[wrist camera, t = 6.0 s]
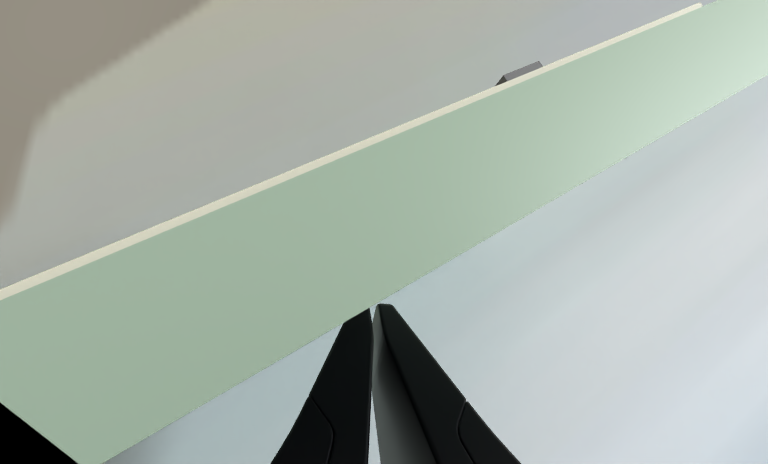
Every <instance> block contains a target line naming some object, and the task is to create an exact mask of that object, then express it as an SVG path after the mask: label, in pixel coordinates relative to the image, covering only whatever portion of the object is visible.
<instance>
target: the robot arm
mask: <svg viewBox="0 0 768 464" xmlns="http://www.w3.org/2000/svg"><path fill="white" fill-rule="evenodd" d="M371 391H372V396H373V404H374V412H375V420H376V428H377V436H378V445H379V453H380V461H381V464H521V463H520V462H519V461H518V460H517V459H516V457H515V456H514V455H513V454H512V453H511V452H510V451H509V450H508V449H507V448H506V446H505V445H504V444H503V443H502V442H501V441H500V440H499V439H498V438H497V436H496V435H495V434H494V433H493V432H492V431H491V429H490V428H489V427H488V426H487V425H486V423H485V422H484V421H483V420H482V418H481V417H480V416H479V415H478V414H477V412H476V411H475V410H474V408H473V407H472V406H471V405H470V403H469V402H466V398H465V397H464V396H463V395H462V393H461V392H460V391H459V389H458V388H457V387H456V386H455V384H454V383H453V382H452V381H451V379H450V378H449V377H448V375H447V374H446V373H445V372H444V370H443V369H442V368H441V366H440V365H439V364H438V363H437V361H436V360H435V359H434V358H433V356H432V355H431V354H430V352H429V351H428V350H427V349H426V347H425V346H424V345H423V343H422V342H421V341H420V340H419V338H418V337H417V336H416V335H415V333H414V332H413V331H412V329H411V328H410V327H409V326H408V324H407V323H406V322H405V320H404V319H403V318H402V317H401V315H400V314H399V313H398V312H397V310H396V309H395V308H394V306H392V305H390V304H378V305H377V306H376V310H375V314H374V318H373V323H372V321H371V314H370V308H368V309H366V310H364V311H363V312H361V313H359V314H357V315H356V316H354V317H352V318H351V319H349V320H347V321H345V322H344V323H343V325H342V327H341V329H340V331H339V334H338V336H337V338H336V340H335V342H334V344H333V346H332V348H331V350H330V352H329V354H328V356H327V358H326V361H325V363H324V365H323V367H322V369H321V371H320V373H319V375H318V377H317V379H316V381H315V383H314V386H313V388H312V390H311V392H310V394H309V397H308V398H307V400H306V402H305V404H304V406H303V408H302V410H301V412H300V414H299V416H298V418H297V420H296V421H295V423H294V425H293V427H292V429H291V431H290V433H289V434H288V436H287V438H286V439H285V441H284V443H283V444H282V446H281V448H280V449H279V451H278V453H277V454H276V456H275V457H274V459H273V460H272V462H271V464H368V454H369V433H370V412H371Z"/></svg>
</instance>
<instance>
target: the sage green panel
mask: <svg viewBox="0 0 768 464" xmlns="http://www.w3.org/2000/svg"><path fill="white" fill-rule="evenodd" d="M767 75H768V0H717V1H715V2H712V3H710V4H707V5H705V6H702V4H701V3H697V4H695V5H692V6H690V7H687V8H685V9H683V10H680V11H678V12H675V13H673V14H670V15H668V16H666V17H663V18H661V19H658V20H656V21H653V22H651V23H648V24H646V25H644V26H641V27H639V28H636V29H634V30H631V31H629V32H626V33H624V34H622V35H619V36H617V37H614V38H612V39H609V40H607V41H605V42H602V43H600V44H597V45H595V46H592V47H590V48H587V49H585V50H583V51H580V52H578V53H575V54H573V55H570V56H568V57H566V58H563V59H561V60H558V61H556V62H553V63H551V64H548V65H546V66H544V67H543V66H542V64H541V63H540V62H539V61H538V62H535V63H533V64H530V65H528V66H525V67H523V68H520V69H518V70H515V71H513V72H510V73H508V74H505V75H503V77H502V78H501V79H500V80H499V82H498V83H497V84H496V86H495V87H492V88H490V89H488V90H485V91H483V92H480V93H478V94H475V95H473V96H470V97H468V98H466V99H463V100H461V101H458V102H456V103H453V104H451V105H449V106H446V107H444V108H441V109H439V110H436V111H434V112H431V113H429V114H427V115H424V116H422V117H419V118H417V119H414V120H412V121H410V122H407V123H405V124H402V125H400V126H397V127H395V128H392V129H390V130H388V131H385V132H383V133H380V134H378V135H375V136H373V137H371V138H368V139H366V140H363V141H361V142H358V143H356V144H353V145H351V146H349V147H346V148H344V149H341V150H339V151H336V152H334V153H332V154H329V155H327V156H324V157H322V158H319V159H317V160H314V161H312V162H310V163H307V164H305V165H302V166H300V167H297V168H295V169H292V170H290V171H288V172H285V173H283V174H280V175H278V176H275V177H273V178H271V179H268V180H266V181H263V182H261V183H258V184H256V185H253V186H251V187H249V188H246V189H244V190H241V191H239V192H236V193H234V194H232V195H229V196H227V197H224V198H222V199H219V200H217V201H214V202H212V203H210V204H207V205H205V206H202V207H200V208H197V209H195V210H193V211H190V212H188V213H185V214H183V215H180V216H178V217H175V218H173V219H171V220H168V221H166V222H163V223H161V224H158V225H156V226H154V227H151V228H149V229H146V230H144V231H141V232H139V233H136V234H134V235H132V236H129V237H127V238H124V239H122V240H119V241H117V242H115V243H112V244H110V245H107V246H105V247H102V248H100V249H97V250H95V251H93V252H90V253H88V254H85V255H83V256H80V257H78V258H76V259H73V260H71V261H68V262H66V263H63V264H61V265H58V266H56V267H54V268H51V269H49V270H46V271H44V272H41V273H39V274H37V275H34V276H32V277H29V278H27V279H24V280H22V281H19V282H17V283H15V284H12V285H10V286H7V287H5V288H2V289H0V464H102V463H104V462H106V461H107V460H109V459H111V458H113V457H114V456H116V455H118V454H119V453H121V452H123V451H125V450H126V449H128V448H130V447H131V446H133V445H135V444H137V443H138V442H140V441H142V440H143V439H145V438H147V437H149V436H150V435H152V434H154V433H155V432H157V431H159V430H161V429H162V428H164V427H166V426H167V425H169V424H171V423H173V422H174V421H176V420H178V419H179V418H181V417H183V416H185V415H186V414H188V413H190V412H191V411H193V410H195V409H197V408H198V407H200V406H202V405H203V404H205V403H207V402H208V401H210V400H212V399H214V398H215V397H217V396H219V395H220V394H222V393H224V392H226V391H227V390H229V389H231V388H232V387H234V386H236V385H238V384H239V383H241V382H243V381H244V380H246V379H248V378H250V377H251V376H253V375H255V374H256V373H258V372H260V371H262V370H263V369H265V368H267V367H268V366H270V365H272V364H274V363H275V362H277V361H279V360H280V359H282V358H284V357H286V356H287V355H289V354H291V353H292V352H294V351H296V350H298V349H299V348H301V347H303V346H304V345H306V344H308V343H310V342H311V341H313V340H315V339H316V338H318V337H320V336H321V335H323V334H325V333H327V332H328V331H330V330H332V329H333V328H335V327H337V326H339V325H340V324H342V323H344V322H345V321H347V320H349V319H351V318H352V317H354V316H356V315H357V314H359V313H361V312H363V311H364V310H366V309H368V308H369V307H371V306H373V305H375V304H376V303H378V302H380V301H381V300H383V299H385V298H387V297H388V296H390V295H392V294H393V293H395V292H397V291H399V290H400V289H402V288H404V287H405V286H407V285H409V284H411V283H412V282H414V281H416V280H417V279H419V278H421V277H423V276H424V275H426V274H428V273H429V272H431V271H433V270H435V269H436V268H438V267H440V266H441V265H443V264H445V263H446V262H448V261H450V260H452V259H453V258H455V257H457V256H458V255H460V254H462V253H464V252H465V251H467V250H469V249H470V248H472V247H474V246H476V245H477V244H479V243H481V242H482V241H484V240H486V239H488V238H489V237H491V236H493V235H494V234H496V233H498V232H500V231H501V230H503V229H505V228H506V227H508V226H510V225H512V224H513V223H515V222H517V221H518V220H520V219H522V218H524V217H525V216H527V215H529V214H530V213H532V212H534V211H536V210H537V209H539V208H541V207H542V206H544V205H546V204H548V203H549V202H551V201H553V200H554V199H556V198H558V197H559V196H561V195H563V194H565V193H566V192H568V191H570V190H571V189H573V188H575V187H577V186H578V185H580V184H582V183H583V182H585V181H587V180H589V179H590V178H592V177H594V176H595V175H597V174H599V173H601V172H602V171H604V170H606V169H607V168H609V167H611V166H613V165H614V164H616V163H618V162H619V161H621V160H623V159H625V158H626V157H628V156H630V155H631V154H633V153H635V152H637V151H638V150H640V149H642V148H643V147H645V146H647V145H649V144H650V143H652V142H654V141H655V140H657V139H659V138H661V137H662V136H664V135H666V134H667V133H669V132H671V131H673V130H674V129H676V128H678V127H679V126H681V125H683V124H684V123H686V122H688V121H690V120H691V119H693V118H695V117H696V116H698V115H700V114H702V113H703V112H705V111H707V110H708V109H710V108H712V107H714V106H715V105H717V104H719V103H720V102H722V101H724V100H726V99H727V98H729V97H731V96H732V95H734V94H736V93H738V92H739V91H741V90H743V89H744V88H746V87H748V86H750V85H751V84H753V83H755V82H756V81H758V80H760V79H762V78H763V77H765V76H767Z"/></svg>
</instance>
